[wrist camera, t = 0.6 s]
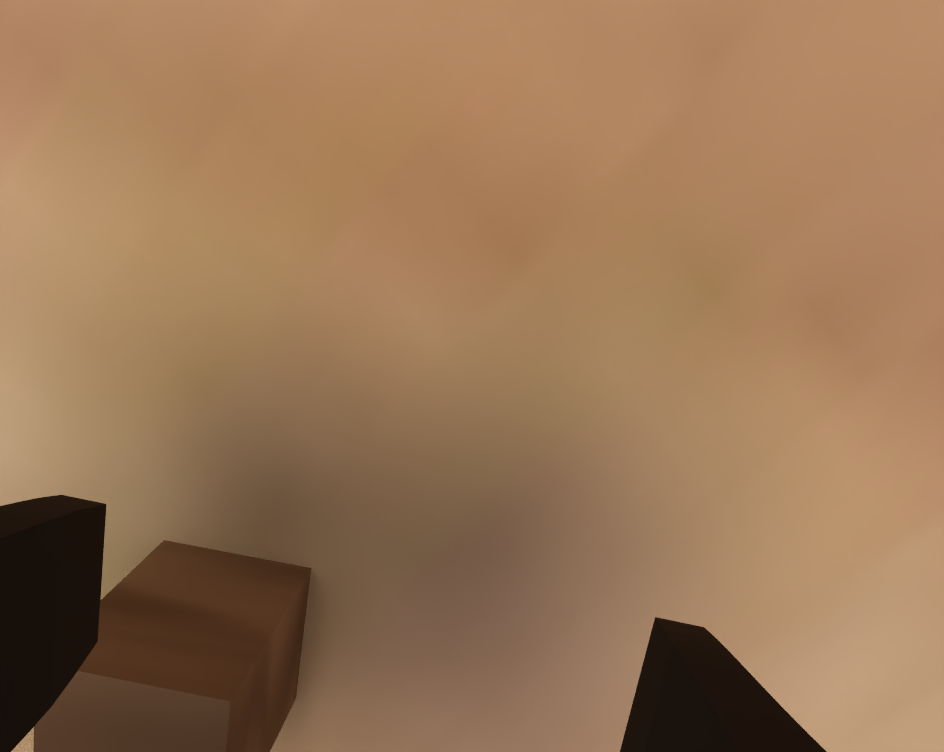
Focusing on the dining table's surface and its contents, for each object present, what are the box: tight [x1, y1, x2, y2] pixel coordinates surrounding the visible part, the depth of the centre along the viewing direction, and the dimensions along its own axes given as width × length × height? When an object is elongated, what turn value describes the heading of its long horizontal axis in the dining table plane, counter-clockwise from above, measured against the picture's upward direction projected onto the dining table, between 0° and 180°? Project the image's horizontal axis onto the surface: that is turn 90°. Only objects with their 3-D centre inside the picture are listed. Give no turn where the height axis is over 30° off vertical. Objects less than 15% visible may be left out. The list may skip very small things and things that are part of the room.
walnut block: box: [34, 540, 311, 752], centre depth 19 cm, size 4×4×6 cm
